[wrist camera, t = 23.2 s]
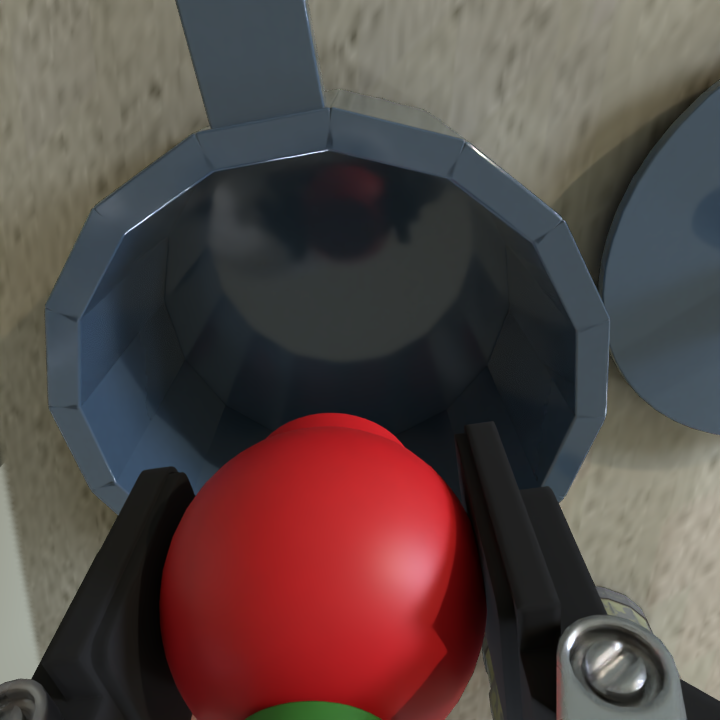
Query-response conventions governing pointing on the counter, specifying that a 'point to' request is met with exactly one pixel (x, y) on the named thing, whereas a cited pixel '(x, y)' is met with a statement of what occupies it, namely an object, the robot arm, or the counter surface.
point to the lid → (670, 271)
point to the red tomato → (323, 582)
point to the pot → (318, 282)
